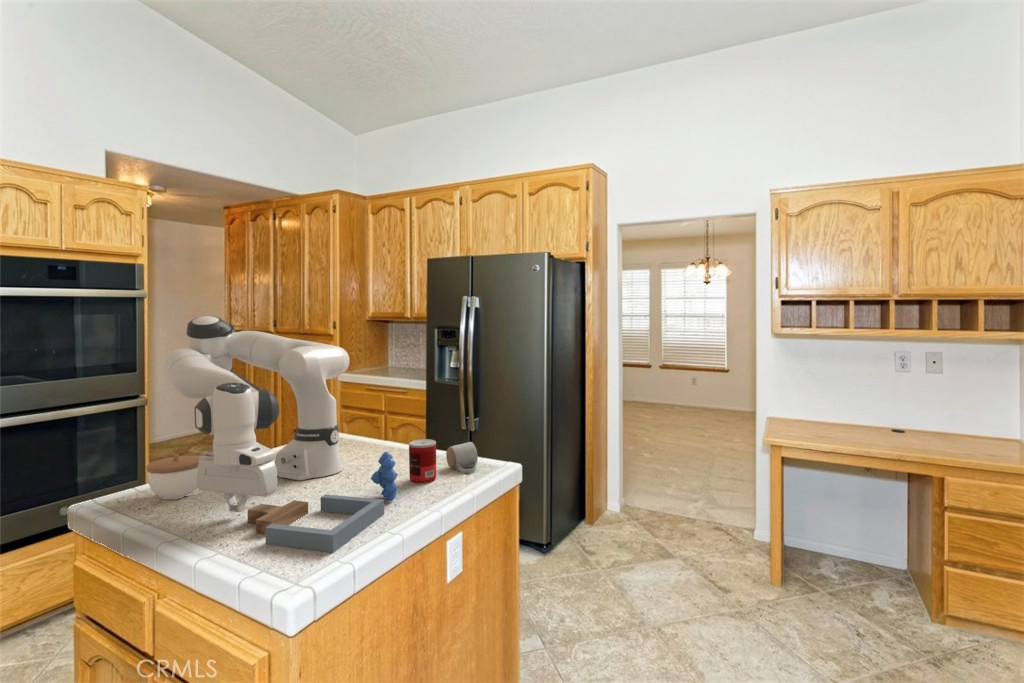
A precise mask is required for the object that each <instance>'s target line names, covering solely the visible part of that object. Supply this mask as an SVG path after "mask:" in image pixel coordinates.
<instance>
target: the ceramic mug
mask: <svg viewBox="0 0 1024 683" xmlns="http://www.w3.org/2000/svg"><path fill="white" fill-rule="evenodd" d="M445 453H446V454H445V456H446V457H445V458H446V462H447V465H448V467H449V468H450V469H451V470H458V471H460V472H461V473H463V474H472V473H474V472H475V471H476V469H477V464H478V458H479V456H478V451H477V448H476V445H475V444H474V442H472V441H469V442H464V443H461V444H459V443H458V444H455V445H453V446H452V445H451V446H449V447H448V448H447V449H446V452H445ZM471 472H472V473H471Z"/></svg>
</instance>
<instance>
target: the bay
mask: <svg viewBox="0 0 1024 683" xmlns="http://www.w3.org/2000/svg"><path fill="white" fill-rule="evenodd" d="M319 500H320V512H322V511H324V512H323V513H325V512H326V513H332V512H336V513H335V514H341V513H346V514H345V515H351V514H354V515H351V516H349V517H348V518H346V519H345V520H343V521H341V522H339V523H338V524H337V525H336V526H334V527H333V528H331V529H323V528H314V527H306V526H297V525H281V524H271V525H269V526H267V527H265V532H266V534H265V545H268V546H269V545H271V546H276V547H278V546H280V547H286V548H295V549H302V550H308V551H309V550H310V551H318V552H319V551H320V552H326V553H333V554H334V553H335V552H336V551H337V549H338V550H339V549H340V548H342V547H343V546H344V545H345V543H346V544H347V543H348V542H350V541H351V540H352V539H353V538H355V537H357V535H358V534H360V533H362V532H363V531H364V530H366V529H367V528H368V527H370V525H372V524H373V523H375V522H376V521H378V520H379V519H380V518H382V517H383V516H384V515H385V499H378V498H370V497H360V496H359V497H358V496H348V495H347V496H345V495H339V494H338V495H337V494H336V495H335V494H324V495H321V496H320V499H319ZM341 546H342V547H341Z"/></svg>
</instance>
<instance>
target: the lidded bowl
mask: <svg viewBox="0 0 1024 683" xmlns="http://www.w3.org/2000/svg"><path fill="white" fill-rule="evenodd" d="M199 456H200V455H189V454H188V455H180V454H179V453H175V454H172V457H171V456H170V457H165V458H162V459H158V460H154V461H152V462H149V463H148V464H147V465H146V472H147V481H148V484H149V488H150V490H151V491H152V493H154V494H155V495H156V496H158V497H160V499H161V498H162V499H161V500H163V499H174V500H178V499H177V498H180V499H182V498H181V497H184V496H187V495H189V494H191V493H193V494H194V491H196V490H197V489H198V488H197V486H196V477H197V468H198V464H199ZM191 495H192V494H191ZM187 497H188V496H187ZM184 498H185V497H184Z"/></svg>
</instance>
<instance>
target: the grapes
mask: <svg viewBox="0 0 1024 683" xmlns="http://www.w3.org/2000/svg"><path fill="white" fill-rule="evenodd" d="M393 458H394V457H393V455H392V454H391V453H390V452H389V451H384V452H383V453H382V454H381V456H380V457H379V459H378V461H377V462H378V463H379V465H380V466H379V468H378V469H377V470H376V471H375V472H373V474H372V475H371V477H370V480H371V481H372V482H373V483H374V484H376V485H379V486H380V487H381V488H382V489H383V490H382V491H381V495H382V496H383V497H384V498H385V500H387V501H388V502H392V501H394V499H395V498H396V496H397V491H398V488H399V486H398V485H397V483H395V481H396V480H397V478H398V476H399V474H398V473H397V472H396V471H395V470H394V468H395V465H396V462H395V460H394V459H393Z"/></svg>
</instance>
